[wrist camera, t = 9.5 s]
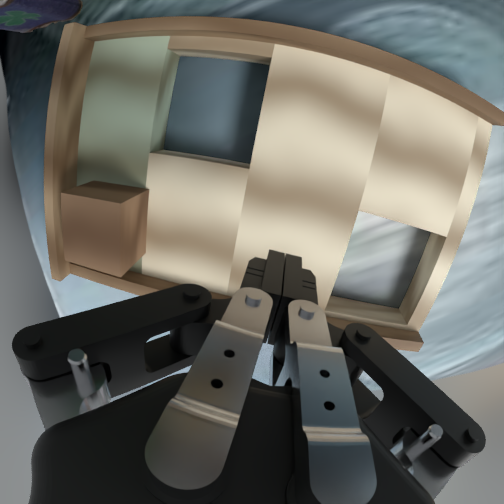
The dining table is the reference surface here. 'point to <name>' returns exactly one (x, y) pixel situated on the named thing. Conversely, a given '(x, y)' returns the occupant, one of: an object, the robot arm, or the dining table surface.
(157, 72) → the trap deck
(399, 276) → the dining table surface
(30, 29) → the flask
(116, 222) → the walnut block
